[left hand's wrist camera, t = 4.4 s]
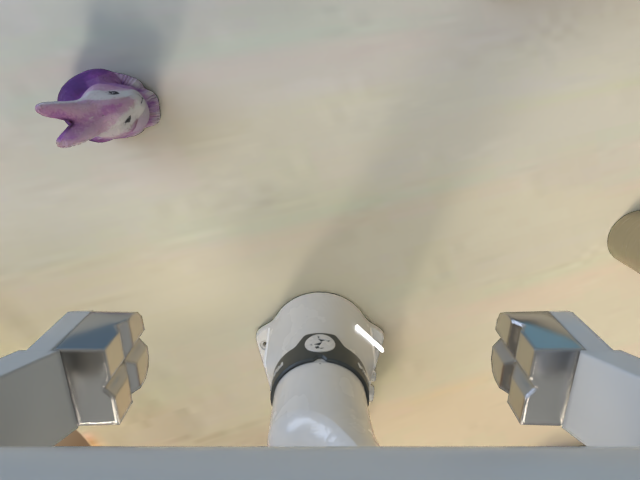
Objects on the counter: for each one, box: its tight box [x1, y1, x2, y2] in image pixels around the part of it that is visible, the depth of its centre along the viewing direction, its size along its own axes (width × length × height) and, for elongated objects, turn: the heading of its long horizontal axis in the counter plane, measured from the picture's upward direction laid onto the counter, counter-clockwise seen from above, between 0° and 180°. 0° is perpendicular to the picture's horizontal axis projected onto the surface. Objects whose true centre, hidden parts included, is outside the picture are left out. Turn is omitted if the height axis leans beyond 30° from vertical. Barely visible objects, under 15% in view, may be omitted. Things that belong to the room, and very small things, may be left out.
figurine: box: [35, 69, 160, 148], centre depth 47 cm, size 9×10×15 cm
